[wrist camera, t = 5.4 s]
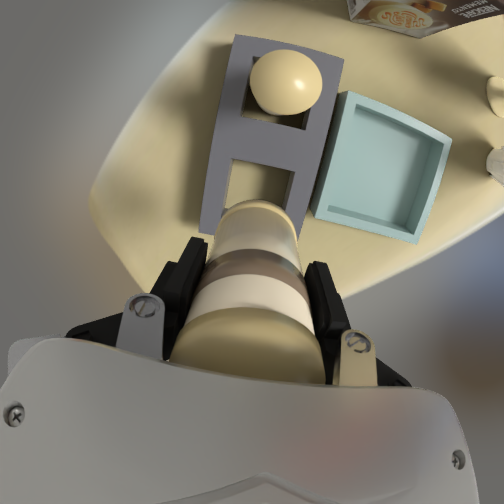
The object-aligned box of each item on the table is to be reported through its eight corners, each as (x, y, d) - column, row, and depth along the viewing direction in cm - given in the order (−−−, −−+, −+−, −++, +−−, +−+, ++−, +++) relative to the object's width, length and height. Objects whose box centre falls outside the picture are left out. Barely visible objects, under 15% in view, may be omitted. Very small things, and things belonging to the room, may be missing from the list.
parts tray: (339, 93, 23) (348, 90, 20) (437, 135, 23) (452, 139, 21) (309, 208, 29) (314, 217, 26) (405, 233, 29) (416, 244, 27)
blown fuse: (223, 192, 15) (164, 317, 6) (304, 209, 15) (353, 348, 6) (212, 262, 17) (169, 406, 8) (284, 276, 17) (295, 425, 8)
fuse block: (238, 42, 21) (225, 6, 12) (336, 64, 21) (372, 41, 12) (204, 221, 30) (180, 268, 21) (291, 238, 30) (302, 291, 22)
